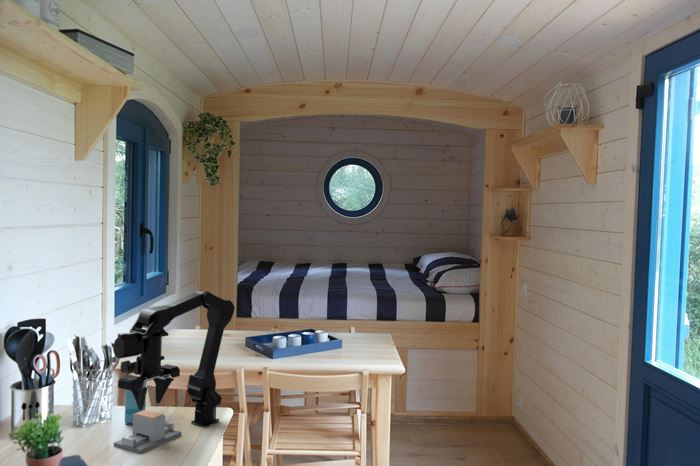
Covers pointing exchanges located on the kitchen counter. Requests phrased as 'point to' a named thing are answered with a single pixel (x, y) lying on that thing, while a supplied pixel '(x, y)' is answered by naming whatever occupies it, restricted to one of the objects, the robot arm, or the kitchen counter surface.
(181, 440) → the kitchen counter surface
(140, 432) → the rail module
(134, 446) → the rail mount
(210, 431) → the kitchen counter surface
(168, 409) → the kitchen counter surface
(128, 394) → the blue block
